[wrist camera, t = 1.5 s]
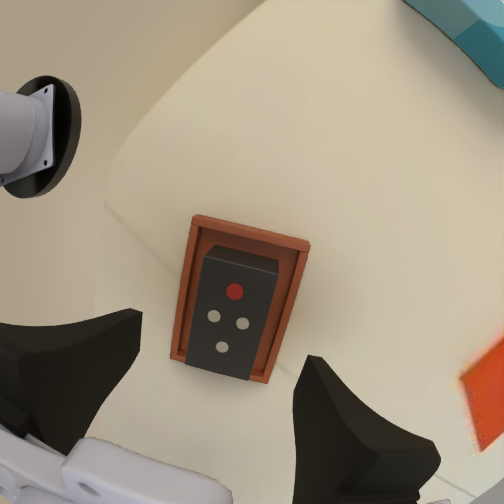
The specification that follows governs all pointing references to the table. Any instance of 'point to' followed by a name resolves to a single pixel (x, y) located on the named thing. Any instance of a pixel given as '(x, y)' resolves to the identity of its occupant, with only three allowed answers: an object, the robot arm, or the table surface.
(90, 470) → the robot arm
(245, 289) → the remote
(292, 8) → the table surface
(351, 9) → the table surface
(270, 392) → the table surface
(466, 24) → the data package
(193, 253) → the dish
